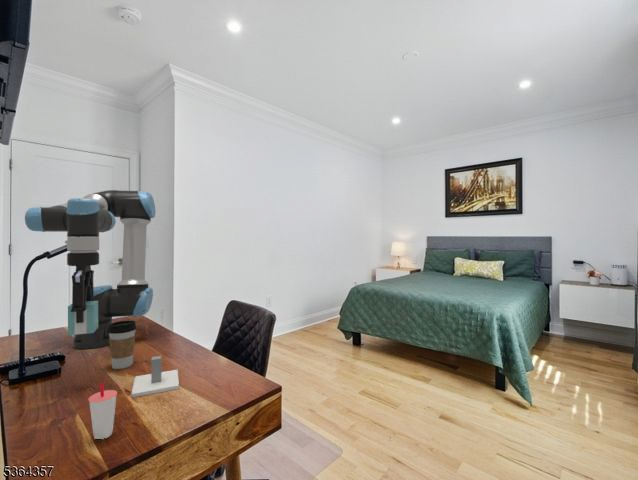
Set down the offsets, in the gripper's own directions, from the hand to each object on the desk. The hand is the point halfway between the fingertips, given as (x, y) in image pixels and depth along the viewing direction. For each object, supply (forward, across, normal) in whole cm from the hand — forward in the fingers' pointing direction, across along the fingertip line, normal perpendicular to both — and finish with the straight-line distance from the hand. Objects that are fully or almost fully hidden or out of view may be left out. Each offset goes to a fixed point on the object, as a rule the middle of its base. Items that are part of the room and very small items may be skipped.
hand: (83, 330), depth 92 cm
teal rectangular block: (0, 0, 0) cm, 0 cm away
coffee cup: (+17, -14, +8) cm, 23 cm away
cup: (+17, +28, +10) cm, 35 cm away
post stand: (+17, +6, +19) cm, 26 cm away
